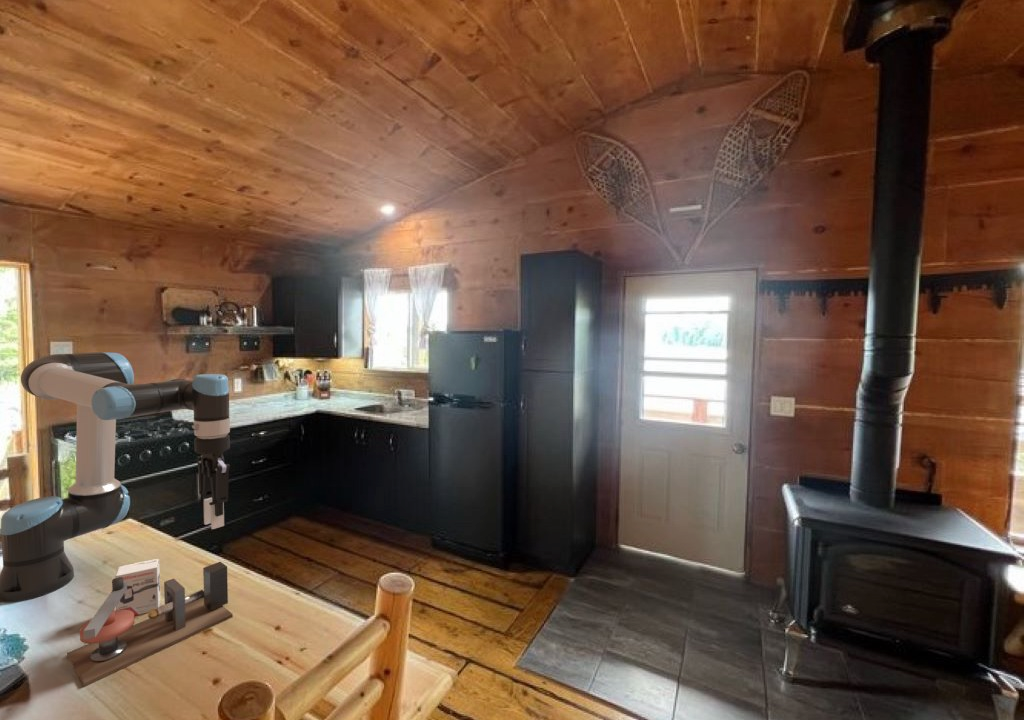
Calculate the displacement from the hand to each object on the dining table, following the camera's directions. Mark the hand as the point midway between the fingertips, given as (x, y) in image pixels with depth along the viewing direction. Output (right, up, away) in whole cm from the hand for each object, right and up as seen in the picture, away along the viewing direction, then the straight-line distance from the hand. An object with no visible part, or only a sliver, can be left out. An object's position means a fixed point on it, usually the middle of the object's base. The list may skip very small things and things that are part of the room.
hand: (214, 524), depth 117 cm
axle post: (-13, -24, -16) cm, 31 cm away
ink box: (-19, -22, 0) cm, 30 cm away
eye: (-6, -23, -6) cm, 24 cm away
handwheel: (-13, -17, -16) cm, 27 cm away
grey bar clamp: (-4, -22, -3) cm, 22 cm away
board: (-8, -23, -9) cm, 26 cm away
